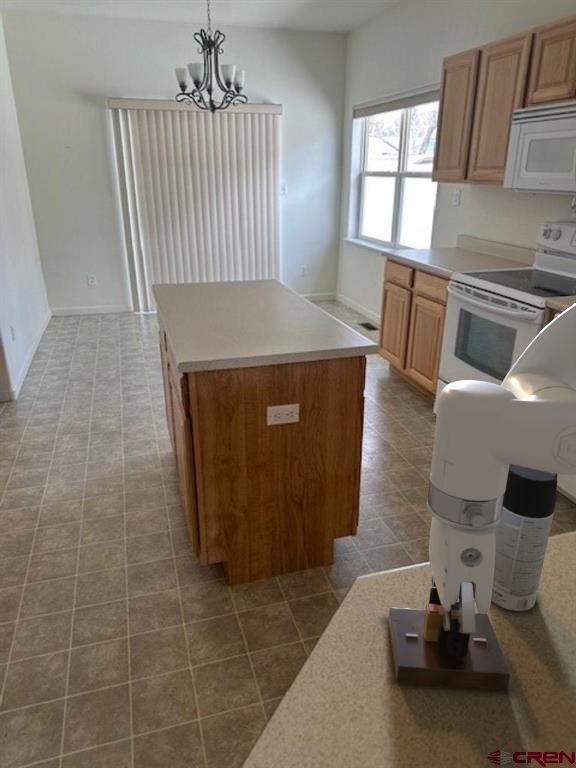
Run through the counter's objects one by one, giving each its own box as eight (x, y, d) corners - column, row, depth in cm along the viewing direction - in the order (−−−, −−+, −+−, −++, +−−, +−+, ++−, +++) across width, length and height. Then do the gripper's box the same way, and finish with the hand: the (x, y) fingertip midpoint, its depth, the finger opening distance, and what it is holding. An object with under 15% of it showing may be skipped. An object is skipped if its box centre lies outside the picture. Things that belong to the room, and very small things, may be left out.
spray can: (535, 590, 74) (560, 461, 68) (534, 623, 69) (562, 486, 62) (485, 576, 77) (505, 451, 70) (480, 607, 71) (501, 473, 65)
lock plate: (484, 632, 67) (487, 612, 66) (506, 695, 58) (510, 673, 57) (387, 626, 68) (389, 606, 67) (396, 687, 59) (398, 665, 58)
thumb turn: (465, 634, 63) (470, 605, 61) (468, 644, 61) (473, 614, 60) (422, 631, 63) (426, 602, 62) (424, 641, 62) (428, 611, 60)
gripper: (529, 550, 48) (501, 702, 54) (479, 462, 64) (461, 586, 70) (445, 545, 48) (425, 696, 54) (416, 459, 64) (403, 583, 70)
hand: (446, 633), depth 62 cm, fingers open, 4 cm apart
